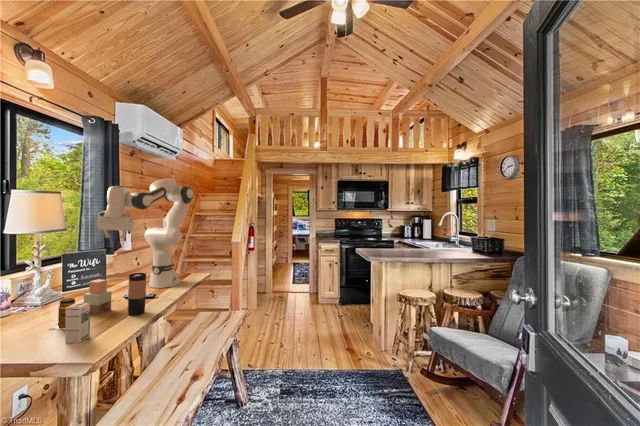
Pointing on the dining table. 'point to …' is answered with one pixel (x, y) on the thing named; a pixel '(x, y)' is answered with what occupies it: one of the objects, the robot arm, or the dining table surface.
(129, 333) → the dining table surface
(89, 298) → the block top
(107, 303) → the block low
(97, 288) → the block small
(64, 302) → the condiment
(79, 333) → the syrup box
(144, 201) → the robot arm
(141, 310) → the travel mug
